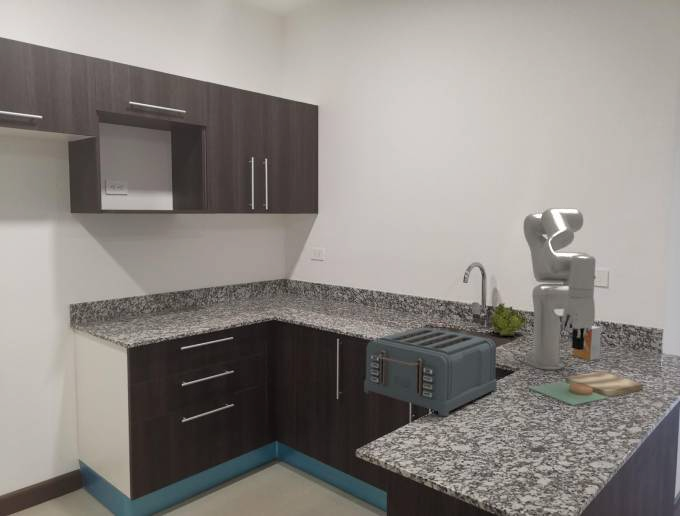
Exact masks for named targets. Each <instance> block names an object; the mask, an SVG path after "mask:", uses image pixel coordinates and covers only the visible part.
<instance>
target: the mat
mask: <svg viewBox="0 0 680 516" xmlns="http://www.w3.org/2000/svg"><path fill="white" fill-rule="evenodd" d="M569 385H570V384H569V383H566V382H565V381H558V382H557V381H556V382H552V383H546V384H541V385H534V386H529V387H528V390H531V391H534V392H535V393H536V392H537V393H539V394H542V395H544V396H547V397H549V398H551V399H554V400H557V401H560V402H562V403H564V404H565V403H566V404H568V405H570V406H572V407H575V406H580V405H583V404H589V403H593V402H598V401H604V400H608V399H610V397H607V396H604V395H601V394H598V393H595V392H593V393H592V394H591V395H579V394H575V393H572V392H570V391H569Z"/></svg>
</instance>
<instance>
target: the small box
mask: <svg viewBox="0 0 680 516" xmlns="http://www.w3.org/2000/svg"><path fill="white" fill-rule="evenodd" d="M601 333H602V326H597V325H593V326H592V329H591V330H589V331H587V333H586V336H585V337H584V349H582V350H578V349H574V348H572V356H573V357H576V356H577V358H580V359H584V360H587V359H588V360H587V361H593V360H599V359H600V355H601V354H600V353H601V335H602V334H601ZM598 358H599V359H598Z"/></svg>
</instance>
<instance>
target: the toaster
mask: <svg viewBox="0 0 680 516" xmlns="http://www.w3.org/2000/svg"><path fill="white" fill-rule="evenodd" d="M365 353H366V357H365V358H366V360H365V361H366V364H365V370H366V371H365V373H366V374H365V379H364V381H363V382H364V383H363V386H364V387H363V392H364V393H365V394H371V393H376V394H379V395H383V396H386V397H389V398H392V399H396V400H399V401H402V402H406V403H409V404H412V405H416V406H419V407H422V408H426V409H429V410H433V411H435V412H438V415H439V416H441V417H447V416H449V415H450V412H451V411H453V410H454V409H456V408H460V407H461V406H463V405H465V404H468V403H470V402H472V401H474V400H476V399H478V398H479V397H482V396H484V395H486V394H488V393H490V392H492V393H495V392H497V390H498V388H497V387H498V385H497V382H498V380H497V378H496V363H497V362H496V361H497V359H496V358H497V345H496V343H495V342H494V340H493V339H491V338H489V337H483V336H479V335H478V336H477V335H471V334H465V333H462V332H461V333H460V332H455V331H449V330H443V329H437V328H432V327H418V328H413V329H409V330H405V331H401V332H397V333H394V334H390V335H386V336H381V337H379V338H377V339H375V340H373V341H372V340H370V341H369V342H368V343H367V344H366V352H365Z"/></svg>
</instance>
